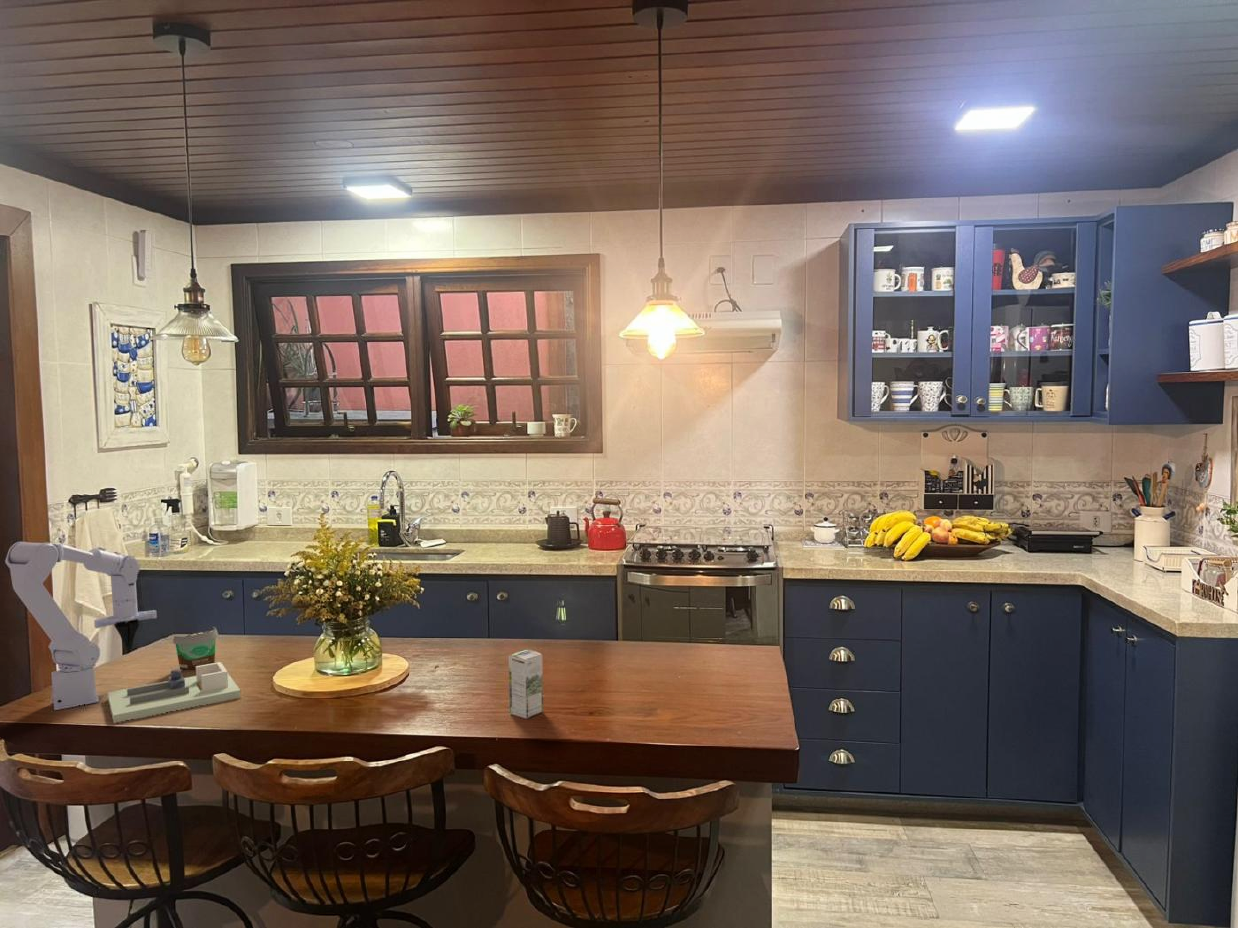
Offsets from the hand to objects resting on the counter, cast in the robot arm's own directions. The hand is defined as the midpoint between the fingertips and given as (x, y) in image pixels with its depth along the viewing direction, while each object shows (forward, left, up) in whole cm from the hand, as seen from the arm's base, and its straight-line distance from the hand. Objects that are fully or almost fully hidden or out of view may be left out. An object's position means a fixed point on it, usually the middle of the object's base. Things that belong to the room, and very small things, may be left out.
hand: (128, 648), depth 230 cm
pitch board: (+8, -22, -9) cm, 25 cm away
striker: (+9, -22, -7) cm, 25 cm away
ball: (+16, -22, -8) cm, 28 cm away
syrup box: (+75, -87, -10) cm, 115 cm away
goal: (+17, -22, -7) cm, 28 cm away
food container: (+18, +3, -10) cm, 21 cm away
